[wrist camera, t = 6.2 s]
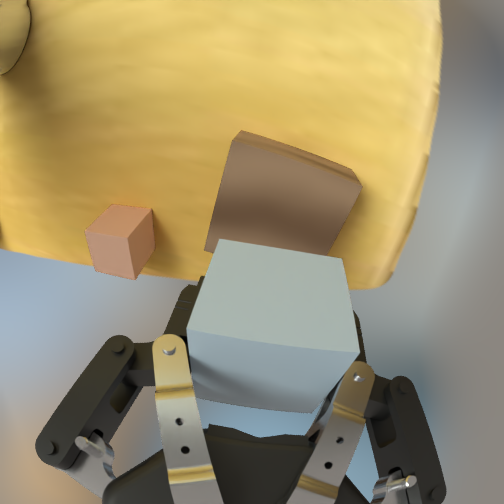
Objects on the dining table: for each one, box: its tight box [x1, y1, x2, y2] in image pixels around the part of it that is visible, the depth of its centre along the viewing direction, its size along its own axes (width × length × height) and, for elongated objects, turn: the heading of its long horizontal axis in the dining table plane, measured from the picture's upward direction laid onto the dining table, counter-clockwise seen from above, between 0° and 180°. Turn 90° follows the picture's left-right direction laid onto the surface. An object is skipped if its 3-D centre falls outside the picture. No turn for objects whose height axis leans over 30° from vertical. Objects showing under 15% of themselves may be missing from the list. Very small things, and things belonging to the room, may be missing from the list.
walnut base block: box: [204, 130, 363, 256], centre depth 21 cm, size 9×9×4 cm
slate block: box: [186, 239, 360, 413], centre depth 12 cm, size 6×6×5 cm
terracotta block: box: [85, 204, 155, 280], centre depth 24 cm, size 4×4×5 cm
